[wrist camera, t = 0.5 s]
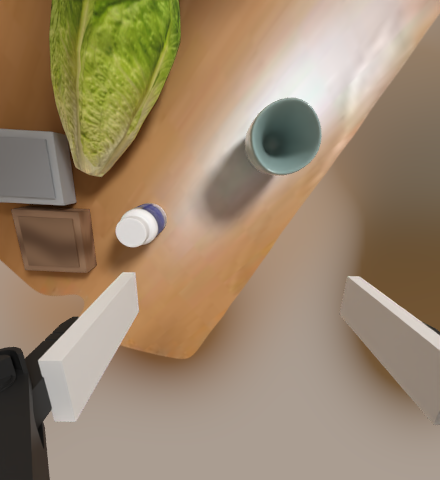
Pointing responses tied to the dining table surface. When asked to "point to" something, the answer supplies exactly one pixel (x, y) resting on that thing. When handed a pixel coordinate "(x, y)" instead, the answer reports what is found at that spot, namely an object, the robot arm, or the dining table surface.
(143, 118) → the lettuce
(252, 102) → the dining table surface
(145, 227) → the pill bottle
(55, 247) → the stand
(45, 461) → the robot arm
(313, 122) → the cup
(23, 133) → the stand
